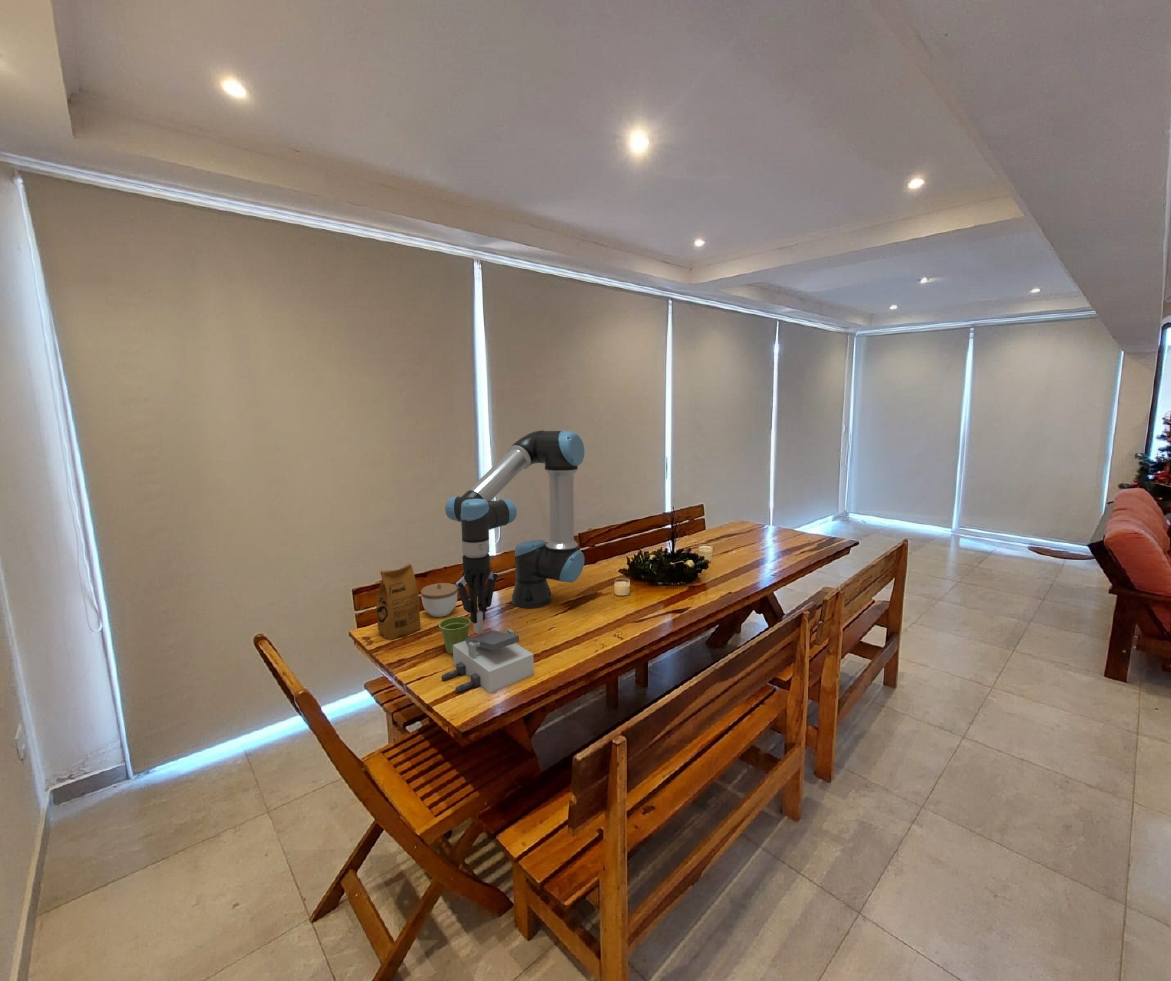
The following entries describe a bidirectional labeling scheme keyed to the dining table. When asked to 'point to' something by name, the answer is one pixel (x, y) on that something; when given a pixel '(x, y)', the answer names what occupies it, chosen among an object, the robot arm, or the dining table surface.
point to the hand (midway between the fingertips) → (478, 632)
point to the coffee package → (398, 603)
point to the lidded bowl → (439, 599)
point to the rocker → (493, 639)
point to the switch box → (490, 665)
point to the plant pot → (454, 631)
